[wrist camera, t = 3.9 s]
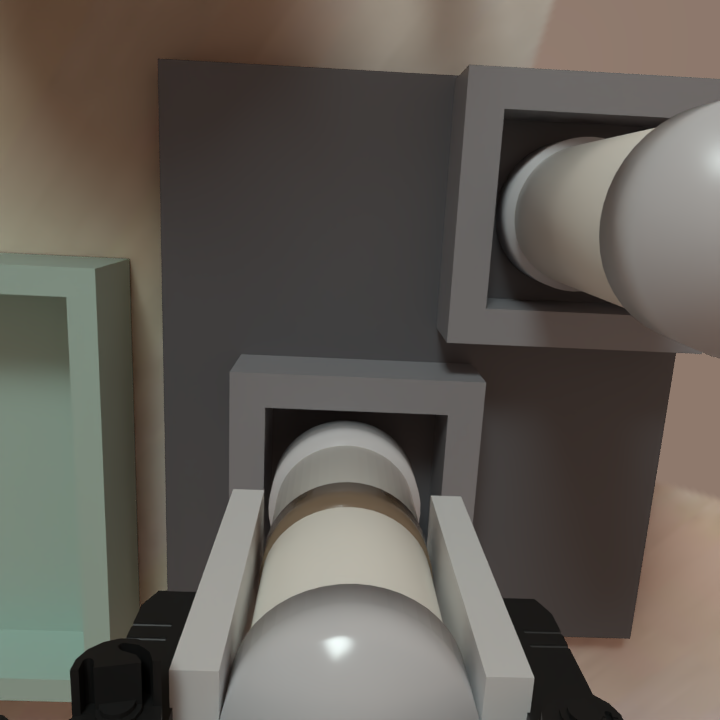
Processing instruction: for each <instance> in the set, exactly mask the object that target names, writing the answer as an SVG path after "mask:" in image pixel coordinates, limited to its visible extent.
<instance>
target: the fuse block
mask: <svg viewBox="0 0 720 720" xmlns="http://www.w3.org/2000/svg"><path fill="white" fill-rule="evenodd" d="M158 94H159V148H160V203H161V257H162V312H163V366H164V421H165V475H166V529H167V584H168V591H183V592H197V590H198V587H199V584H200V581H201V578H202V576H203V573H204V570H205V567H206V564H207V562H208V559H209V556H210V553H211V550H212V548H213V545H214V542H215V539H216V536H217V533H218V531H219V528H220V525H221V522H222V519H223V517H224V514H225V511H226V508H227V505H228V503H229V500H230V497H231V494H232V491H233V489H246V490H264V529H263V554H264V549H265V544H266V540H267V536H268V533H269V531H270V528H271V525H270V520H269V498H270V493H271V489H272V485H273V480H274V476H275V472H276V468H277V465H278V462H279V460H280V458H281V456H282V455H283V453H284V451H285V450H286V449H287V447H288V446H289V445H290V444H291V443H292V442H293V441H294V440H295V439H296V438H297V437H298V436H300V435H301V434H302V433H304V432H305V431H307V430H309V429H311V428H313V427H315V426H317V425H320V424H324V423H327V422H332V421H343V420H349V421H358V422H362V423H366V424H369V425H372V426H374V427H377V428H378V429H380V430H382V431H384V432H385V433H387V434H388V435H390V436H391V437H392V438H393V439H394V440H395V441H396V442H397V443H398V444H399V445H400V446H401V447H402V449H403V450H404V452H405V453H406V455H407V457H408V459H409V461H410V463H411V466H412V470H413V473H414V477H415V481H416V484H417V488H418V492H419V497H420V518H419V525H420V527H421V529H422V532H423V535H424V539H425V542H426V546H427V538H428V526H429V513H430V500H431V496H461V498H462V500H463V503H464V505H465V507H466V510H467V512H468V515H469V517H470V520H471V522H472V525H473V527H474V530H475V532H476V535H477V537H478V540H479V542H480V545H481V547H482V549H483V552H484V554H485V557H486V559H487V562H488V564H489V567H490V569H491V572H492V574H493V577H494V579H495V582H496V584H497V587H498V589H499V591H500V594H501V596H502V598H519V599H535V600H536V601H538V602H539V603H540V604H541V605H542V606H543V607H544V608H546V609H547V610H548V611H549V612H550V613H551V614H552V615H553V617H554V619H555V621H556V623H557V625H558V627H559V629H560V631H561V634H562V635H563V637H594V638H628V639H630V636H631V629H632V623H633V617H634V611H635V605H636V598H637V592H638V586H639V580H640V573H641V567H642V561H643V555H644V549H645V542H646V536H647V530H648V524H649V517H650V511H651V505H652V499H653V493H654V486H655V480H656V474H657V467H658V461H659V455H660V449H661V443H662V437H663V430H664V423H665V418H666V412H667V405H668V399H669V393H670V387H671V381H672V374H673V368H674V362H675V356H676V353H695V354H701V353H702V352H703V353H705V354H708V355H710V356H713V357H717V358H720V79H709V78H692V77H673V76H656V75H639V74H621V73H604V72H586V71H570V70H551V69H535V68H517V67H500V66H482V65H469V66H468V67H467V68H466V69H465V70H464V71H463V72H462V73H461V74H460V75H459V76H454V75H436V74H419V73H401V72H383V71H366V70H348V69H330V68H313V67H295V66H278V65H260V64H242V63H225V62H207V61H189V60H172V59H158Z"/></svg>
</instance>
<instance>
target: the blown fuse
mask: <svg viewBox="0 0 720 720" xmlns="http://www.w3.org/2000/svg"><path fill="white" fill-rule="evenodd" d="M419 518H420V497H419V492H418V488H417V484H416V481H415V477H414V473H413V470H412V466H411V463H410V461H409V459H408V457H407V455H406V453H405V452H404V450H403V449H402V447H401V446H400V445H399V444H398V443H397V442H396V441H395V440H394V439H393V438H392V437H391V436H390V435H388V434H387V433H385V432H384V431H382V430H380V429H378V428H377V427H374V426H372V425H369V424H366V423H362V422H358V421H349V420H343V421H332V422H327V423H324V424H320V425H317V426H315V427H313V428H311V429H309V430H307V431H305V432H304V433H302V434H301V435H300V436H298V437H297V438H296V439H295V440H294V441H293V442H292V443H291V444H290V445H289V446H288V447H287V449H286V450H285V451H284V453H283V455H282V456H281V458H280V460H279V462H278V465H277V468H276V472H275V476H274V480H273V485H272V489H271V493H270V498H269V520H270V525H271V528H270V531H269V533H268V536H267V540H266V544H265V549H264V554H263V559H262V563H261V568H260V574H259V590H258V595H257V600H256V605H255V610H254V614H253V619H252V624H251V629H250V630H249V632H248V633H247V634H246V635H245V637H244V639H243V640H242V642H241V644H240V646H239V647H238V649H237V652H236V654H235V657H234V659H233V663H232V667H231V671H230V676H229V680H228V685H227V689H226V694H225V698H224V702H223V707H222V711H221V716H220V720H479V716H478V712H477V709H476V705H475V701H474V697H473V694H472V690H471V686H470V682H469V679H468V675H467V671H466V667H465V664H464V660H463V657H462V653H461V651H460V649H459V647H458V644H457V642H456V640H455V639H454V637H453V636H452V634H451V633H450V631H449V629H448V628H447V627H446V626H445V625H444V624H443V621H442V617H441V613H440V609H439V605H438V601H437V596H436V592H435V588H434V584H433V573H432V566H431V562H430V558H429V554H428V550H427V546H426V542H425V539H424V535H423V532H422V529H421V527H420V525H419Z"/></svg>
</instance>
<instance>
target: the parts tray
mask: <svg viewBox="0 0 720 720" xmlns="http://www.w3.org/2000/svg"><path fill="white" fill-rule="evenodd" d="M139 609H140V605H139V571H138V537H137V503H136V468H135V434H134V400H133V366H132V331H131V297H130V263H129V259H123V258H102V257H80V256H59V255H38V254H17V253H0V700H11V701H49V702H72V701H71V684H70V669H71V667H72V665H73V664H74V662H75V660H76V659H77V658H78V657H79V656H80V655H81V654H83V653H84V652H85V651H86V650H87V649H89V648H91V647H94V646H96V645H98V644H100V643H102V642H106V641H110V640H115V639H119V638H126V637H127V635H128V632H129V630H130V628H131V626H133V622H134V620H135V618H136V616H137V614H138V612H139Z"/></svg>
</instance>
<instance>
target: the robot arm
mask: <svg viewBox="0 0 720 720" xmlns="http://www.w3.org/2000/svg"><path fill="white" fill-rule="evenodd" d="M263 529H264V490H246V489H233V491H232V494H231V497H230V500H229V503H228V505H227V508H226V511H225V514H224V517H223V519H222V522H221V525H220V528H219V531H218V533H217V536H216V539H215V542H214V545H213V548H212V550H211V553H210V556H209V559H208V562H207V564H206V567H205V570H204V573H203V576H202V578H201V581H200V584H199V587H198V590H197V592H183V591H158V592H157V593H156V594H154V595H153V596H152V597H151V598H150V599H149V600H147V601H146V602H145V603H144V604H143V605H141V607H140V609H139V612H138V614H137V616H136V618H135V620H134V622H133V626H131V628H130V630H129V632H128V635H127V637H126V638H119V639H115V640H110V641H106V642H102V643H100V644H98V645H96V646H94V647H91V648H89V649H87V650H86V651H85V652H84V653H83V654H81V655H80V656H79V657H78V658H77V659H76V660H75V662H74V664H73V665H72V667H71V669H70V684H71V701H72V718H71V719H69V720H220V716H221V711H222V707H223V702H224V698H225V694H226V689H227V685H228V680H229V676H230V671H231V667H232V663H233V659H234V657H235V654H236V652H237V649H238V647H239V646H240V644H241V642H242V640H243V639H244V637H245V635H246V634H247V633H248V632H249V630H250V629H251V624H252V619H253V614H254V610H255V605H256V600H257V595H258V590H259V574H260V568H261V563H262V559H263ZM427 550H428V554H429V558H430V562H431V566H432V573H433V584H434V588H435V592H436V596H437V601H438V605H439V609H440V613H441V617H442V621H443V624H444V625H445V626H446V627H447V628H448V629H449V631H450V633H451V634H452V636H453V637H454V639H455V640H456V642H457V644H458V647H459V649H460V651H461V653H462V657H463V660H464V664H465V667H466V671H467V675H468V679H469V682H470V686H471V690H472V694H473V697H474V701H475V705H476V709H477V712H478V716H479V720H623V718H622V716H621V714H620V713H618V712H617V711H616V710H615V709H614V708H613V707H612V706H611V705H610V704H609V703H607V702H605V701H603V700H602V699H600V698H598V697H596V696H594V695H593V694H592V692H591V690H590V688H589V686H588V684H587V682H586V680H585V678H584V676H583V674H582V672H581V670H580V668H579V666H578V664H577V662H576V660H575V658H574V656H573V654H572V653H571V651H570V649H568V645H567V643H566V641H565V639H564V637H563V635H562V634H561V631H560V629H559V627H558V625H557V623H556V621H555V619H554V617H553V615H552V614H551V613H550V612H549V611H548V610H547V609H546V608H544V607H543V606H542V605H541V604H540V603H539V602H538V601H536V600H535V599H519V598H502V596H501V594H500V591H499V589H498V587H497V584H496V582H495V579H494V577H493V574H492V572H491V569H490V567H489V564H488V562H487V559H486V557H485V554H484V552H483V549H482V547H481V545H480V542H479V540H478V537H477V535H476V532H475V530H474V527H473V525H472V522H471V520H470V517H469V515H468V512H467V510H466V507H465V505H464V503H463V500H462V498H461V496H431V500H430V513H429V526H428V538H427ZM0 720H8V719H7V718H6V717H5V716H3V715H0Z"/></svg>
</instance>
